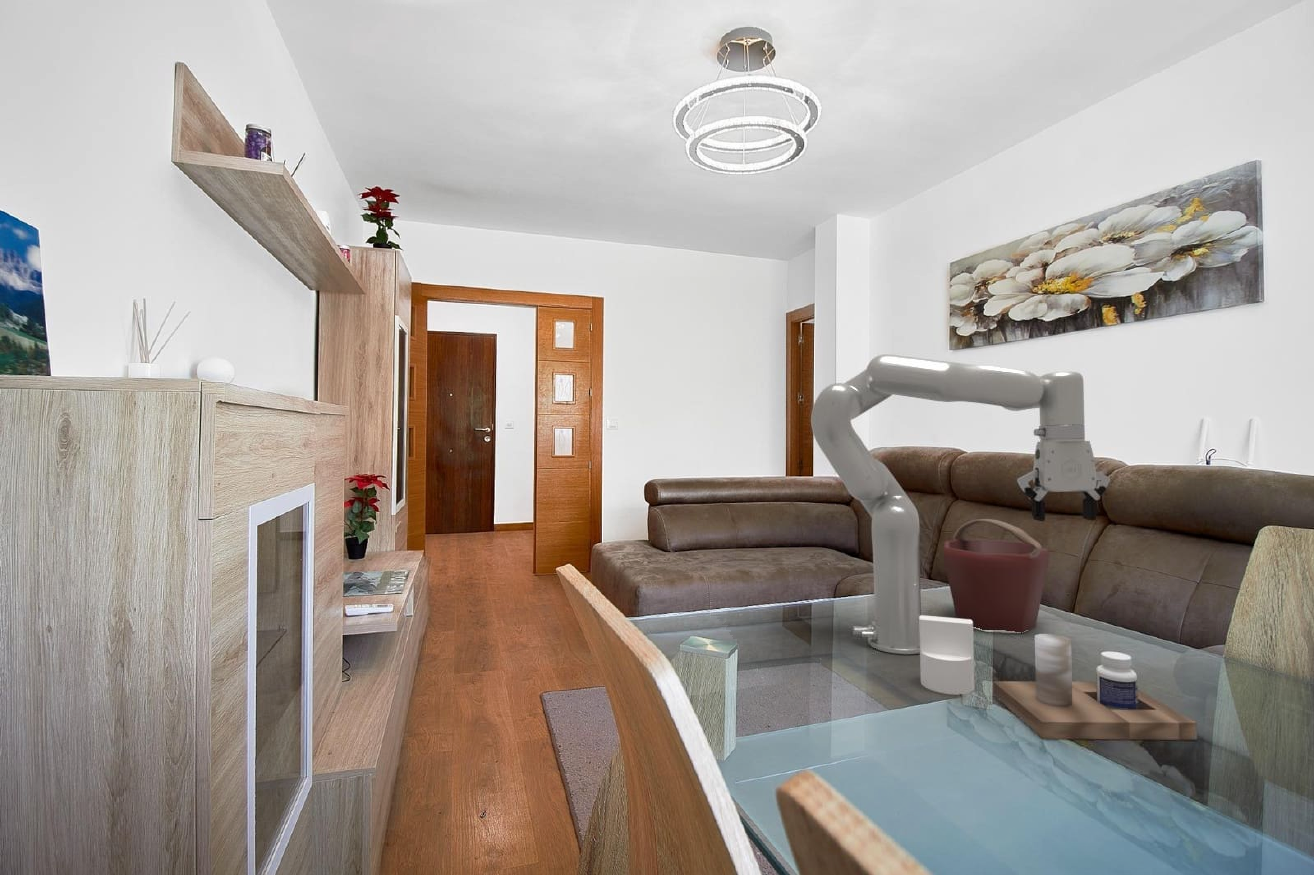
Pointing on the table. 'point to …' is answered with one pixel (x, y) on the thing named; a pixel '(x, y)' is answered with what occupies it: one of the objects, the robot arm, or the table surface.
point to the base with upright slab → (946, 654)
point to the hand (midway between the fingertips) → (1064, 519)
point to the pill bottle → (1117, 682)
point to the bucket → (996, 578)
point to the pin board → (1083, 703)
